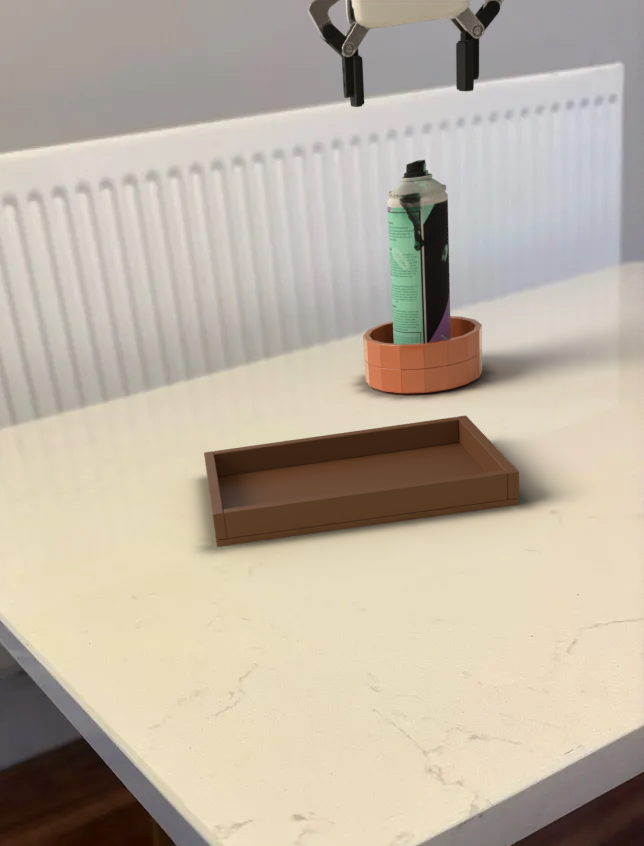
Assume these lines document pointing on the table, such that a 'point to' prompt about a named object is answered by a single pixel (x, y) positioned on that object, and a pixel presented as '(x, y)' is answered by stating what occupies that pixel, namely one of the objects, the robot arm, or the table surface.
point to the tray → (356, 480)
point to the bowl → (423, 359)
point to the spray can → (419, 257)
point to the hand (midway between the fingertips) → (411, 98)
